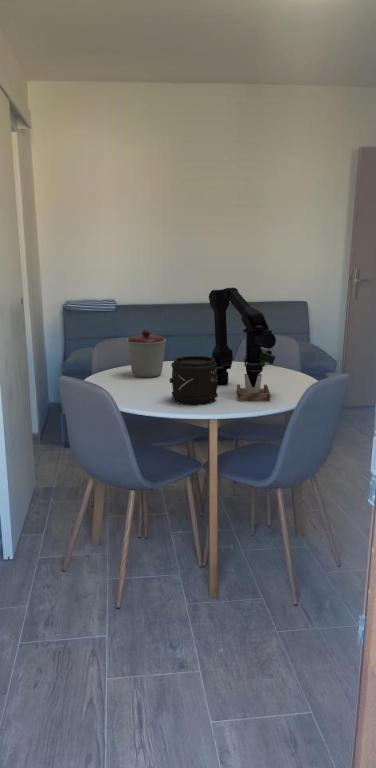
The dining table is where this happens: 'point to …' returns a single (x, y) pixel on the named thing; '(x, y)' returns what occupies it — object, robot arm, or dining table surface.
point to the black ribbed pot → (194, 380)
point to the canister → (146, 354)
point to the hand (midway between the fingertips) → (252, 384)
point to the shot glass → (249, 388)
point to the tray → (253, 394)
